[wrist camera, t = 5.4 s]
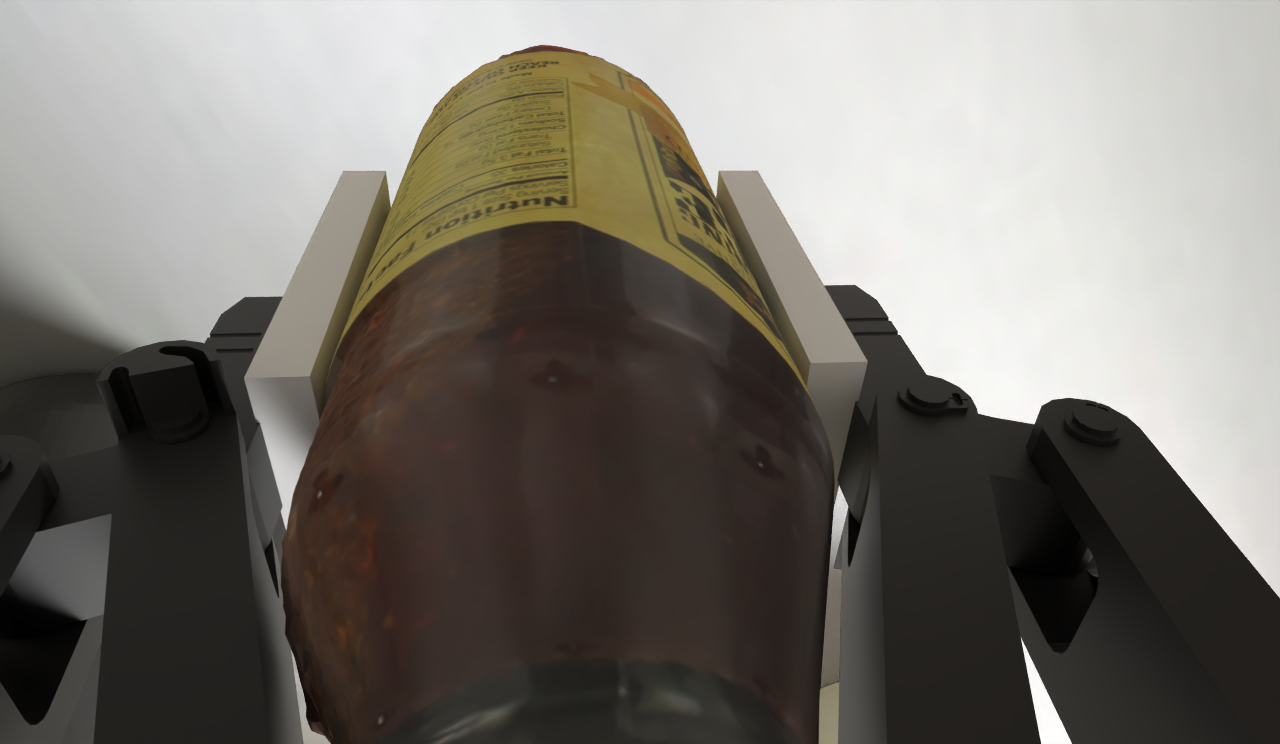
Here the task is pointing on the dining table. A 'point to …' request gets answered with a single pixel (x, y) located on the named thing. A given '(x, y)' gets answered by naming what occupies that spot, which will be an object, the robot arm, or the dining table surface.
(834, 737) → the reusable coffee cup
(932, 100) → the dining table surface
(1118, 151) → the dining table surface
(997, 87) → the dining table surface
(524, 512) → the sauce bottle
